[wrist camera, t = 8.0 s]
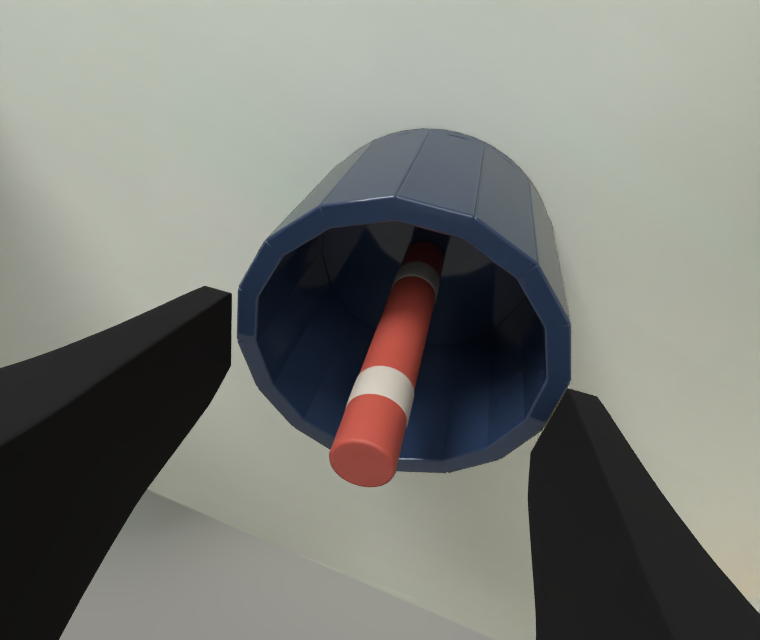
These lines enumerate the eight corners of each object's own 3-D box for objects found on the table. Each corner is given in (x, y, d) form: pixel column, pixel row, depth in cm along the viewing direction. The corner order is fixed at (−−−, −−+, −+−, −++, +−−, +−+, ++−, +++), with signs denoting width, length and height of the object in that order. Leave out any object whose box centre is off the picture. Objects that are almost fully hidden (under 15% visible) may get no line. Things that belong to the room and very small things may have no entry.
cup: (302, 314, 18) (234, 424, 13) (327, 98, 14) (239, 154, 9) (503, 371, 17) (502, 505, 13) (595, 166, 13) (640, 260, 9)
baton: (400, 270, 15) (322, 477, 9) (409, 235, 15) (331, 432, 8) (439, 281, 15) (388, 497, 9) (449, 246, 15) (403, 453, 8)
